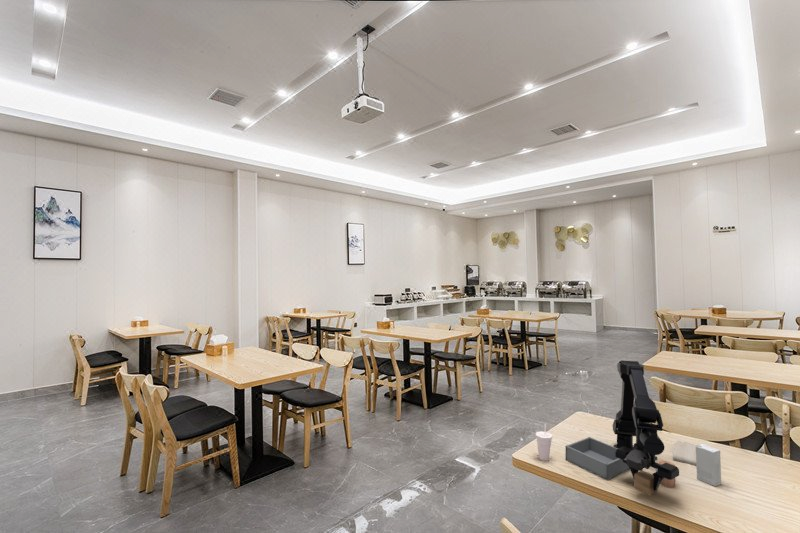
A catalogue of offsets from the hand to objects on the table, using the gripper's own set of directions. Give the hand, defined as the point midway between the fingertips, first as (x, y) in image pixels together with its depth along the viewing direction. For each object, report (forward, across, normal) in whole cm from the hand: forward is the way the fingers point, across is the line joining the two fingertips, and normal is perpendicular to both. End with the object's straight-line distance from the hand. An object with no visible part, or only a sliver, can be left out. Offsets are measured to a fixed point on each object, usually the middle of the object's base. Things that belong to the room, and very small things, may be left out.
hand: (645, 486), depth 139 cm
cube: (+1, 0, 0) cm, 1 cm away
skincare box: (+1, +9, +24) cm, 26 cm away
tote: (+1, -19, +2) cm, 19 cm away
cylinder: (+1, +2, +10) cm, 10 cm away
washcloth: (+2, -3, +40) cm, 40 cm away
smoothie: (+1, -33, -12) cm, 35 cm away
